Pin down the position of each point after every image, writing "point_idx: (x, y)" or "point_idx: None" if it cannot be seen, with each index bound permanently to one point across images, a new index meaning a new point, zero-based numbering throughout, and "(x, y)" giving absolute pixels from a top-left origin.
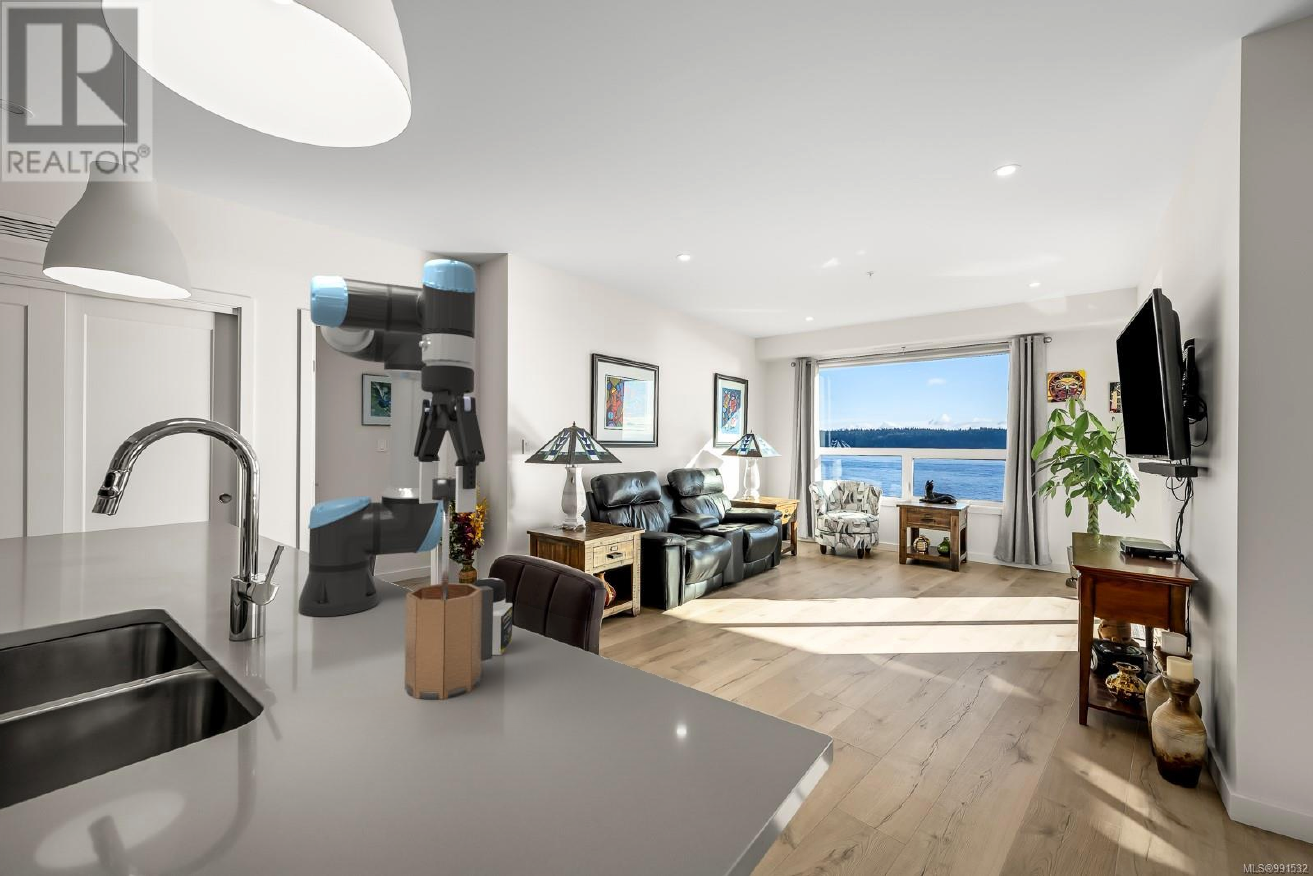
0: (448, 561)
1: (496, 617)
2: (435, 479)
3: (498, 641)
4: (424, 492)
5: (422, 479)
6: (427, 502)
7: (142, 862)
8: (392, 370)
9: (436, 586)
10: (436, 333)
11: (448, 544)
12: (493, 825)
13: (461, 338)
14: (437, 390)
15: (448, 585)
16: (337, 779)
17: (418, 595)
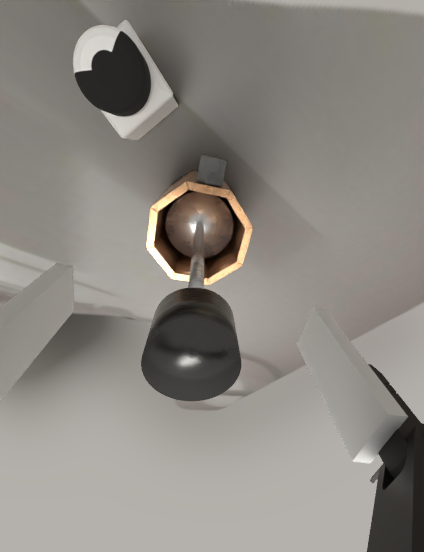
0: (203, 252)
1: (167, 101)
2: (187, 396)
3: (174, 105)
4: (56, 321)
5: (32, 358)
6: (72, 295)
7: (258, 388)
8: None
9: (156, 224)
10: None
11: (203, 264)
12: (381, 300)
13: None
14: None
15: (162, 207)
16: (269, 326)
17: (162, 252)
